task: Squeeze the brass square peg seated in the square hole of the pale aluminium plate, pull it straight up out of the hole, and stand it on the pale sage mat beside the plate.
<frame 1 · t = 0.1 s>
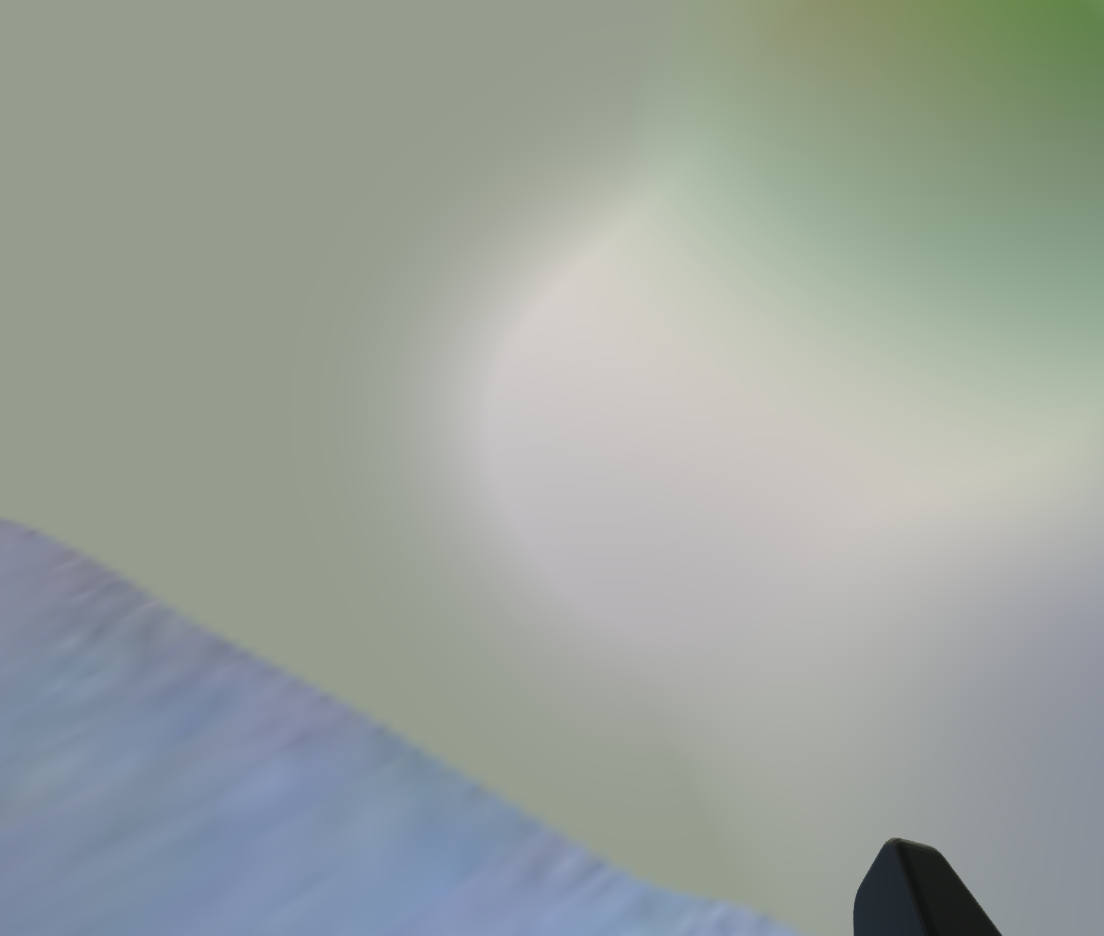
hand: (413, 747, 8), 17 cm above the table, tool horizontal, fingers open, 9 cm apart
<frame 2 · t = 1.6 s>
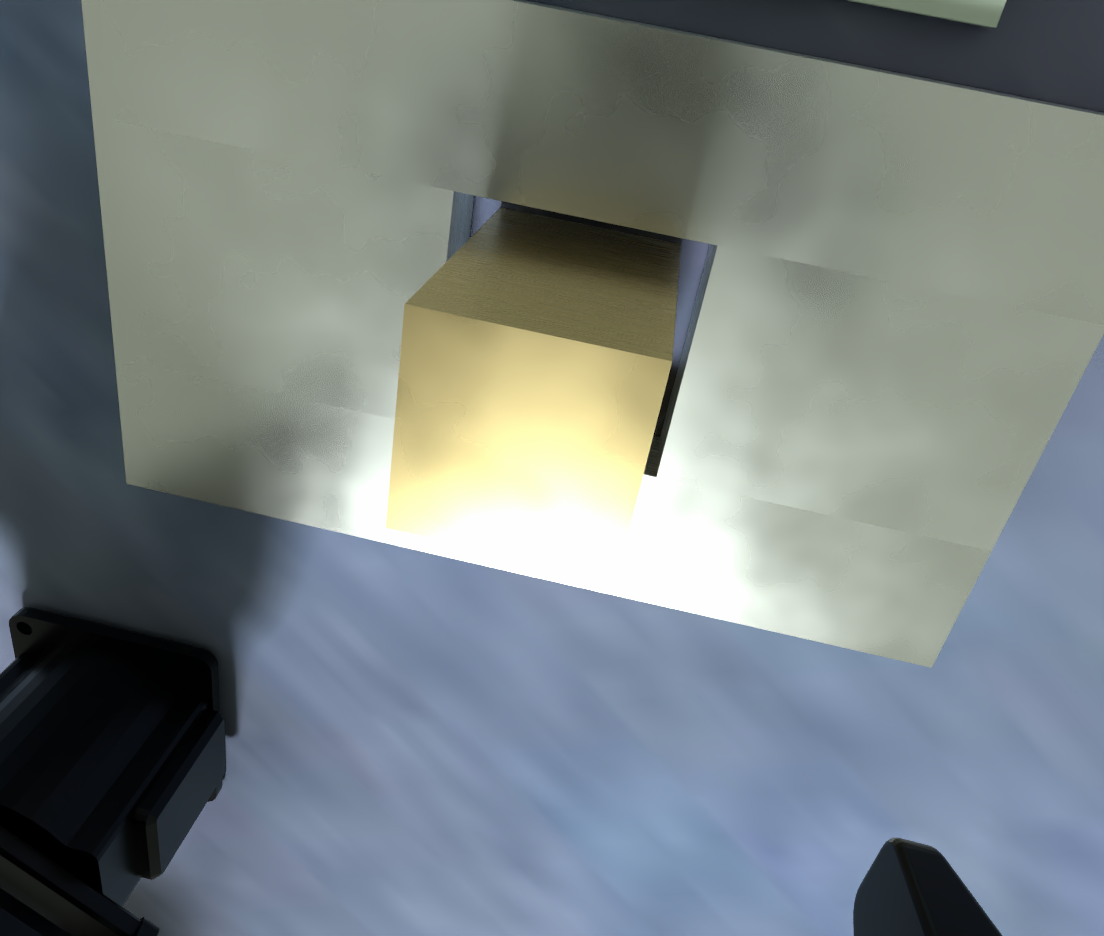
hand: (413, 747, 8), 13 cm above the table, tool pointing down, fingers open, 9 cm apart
brass peg: (550, 369, 16), in the aluminium plate
aluminium plate: (573, 313, 19), on the table
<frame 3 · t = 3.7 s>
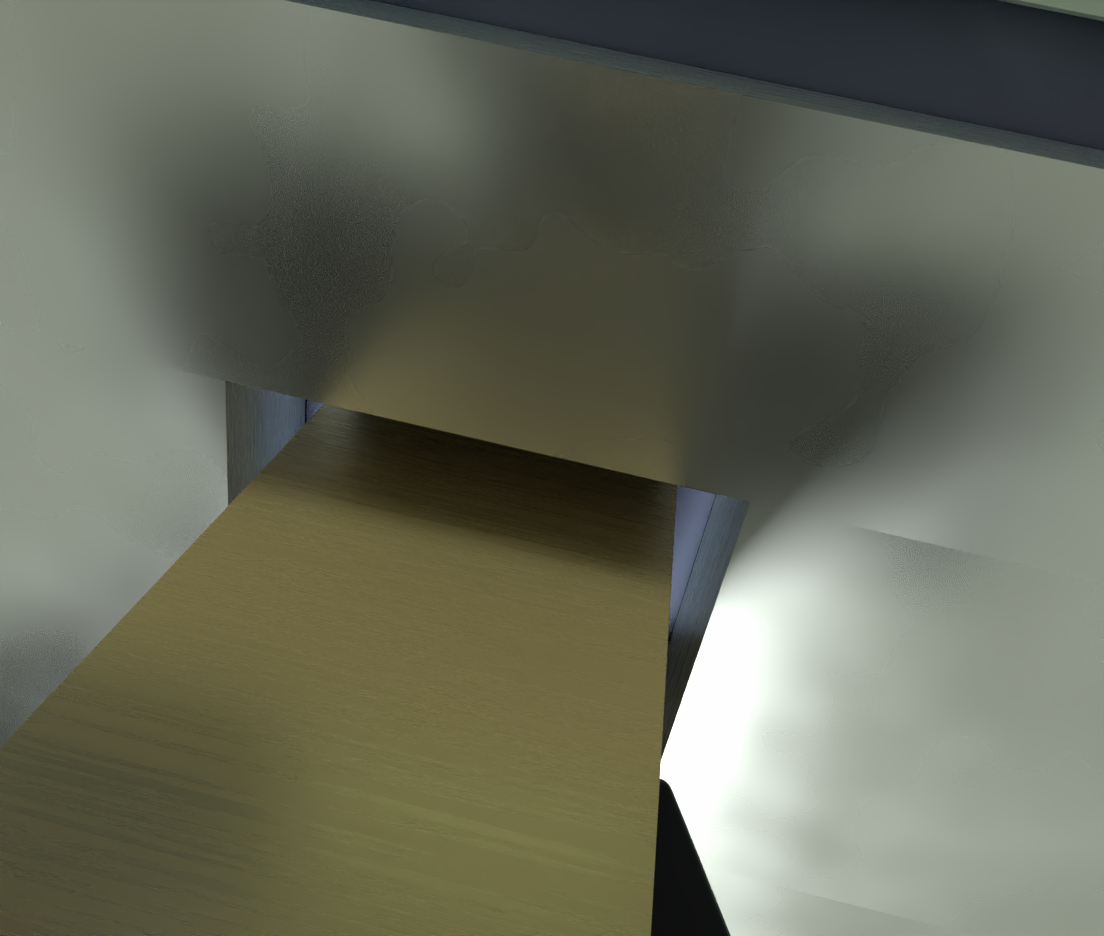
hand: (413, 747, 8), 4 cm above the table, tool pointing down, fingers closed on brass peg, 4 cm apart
brass peg: (414, 742, 8), in the aluminium plate, touching gripper
aluminium plate: (491, 543, 11), on the table
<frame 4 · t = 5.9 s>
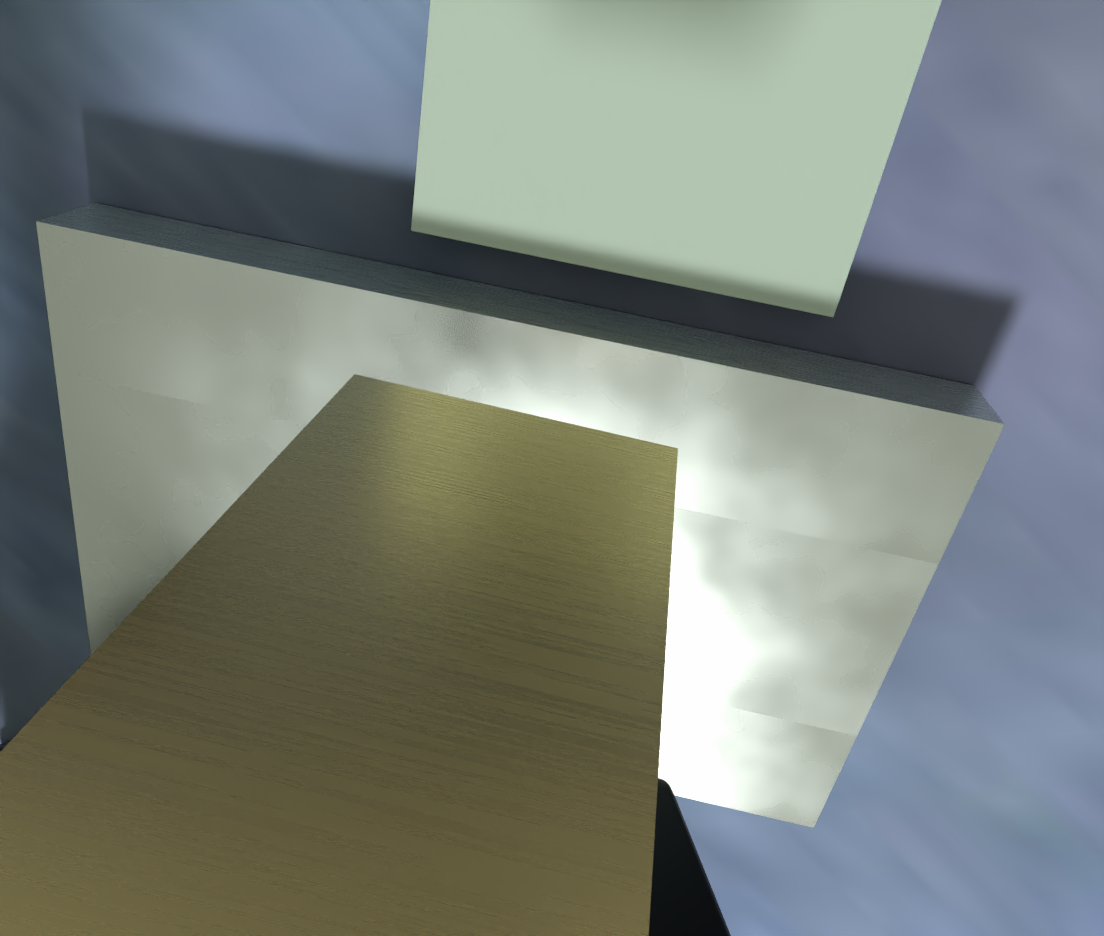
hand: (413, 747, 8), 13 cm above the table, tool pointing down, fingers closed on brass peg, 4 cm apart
brass peg: (413, 746, 8), point 12 cm above the table, touching gripper
aluminium plate: (489, 517, 22), on the table
sage mat: (670, 34, 16), on the table
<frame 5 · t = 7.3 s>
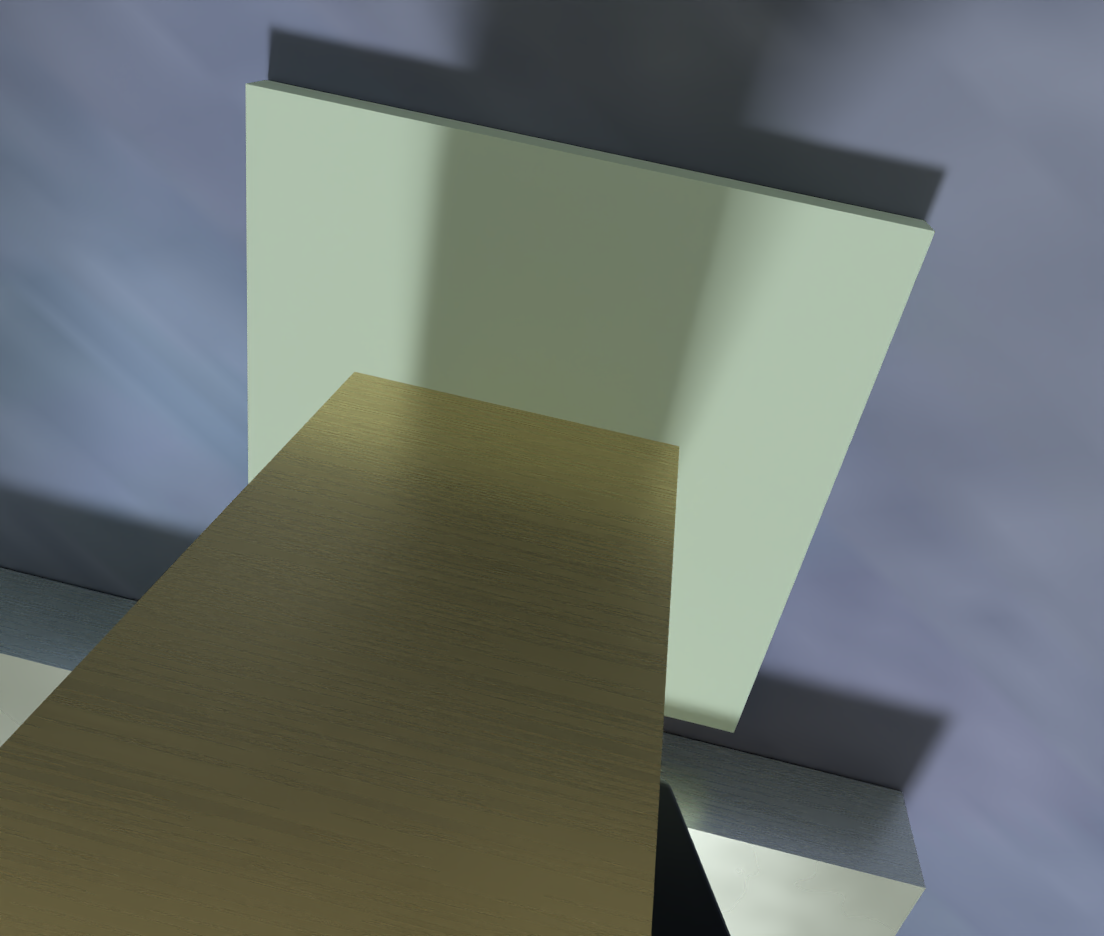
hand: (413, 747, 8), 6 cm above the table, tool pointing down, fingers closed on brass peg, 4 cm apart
brass peg: (413, 745, 8), point 6 cm above the table, touching gripper
aluminium plate: (367, 856, 19), on the table
sage mat: (534, 440, 14), on the table
when the fingers open (5 cm above the table, at t = 8.3 s): brass peg drops 1 cm, resting on sage mat.
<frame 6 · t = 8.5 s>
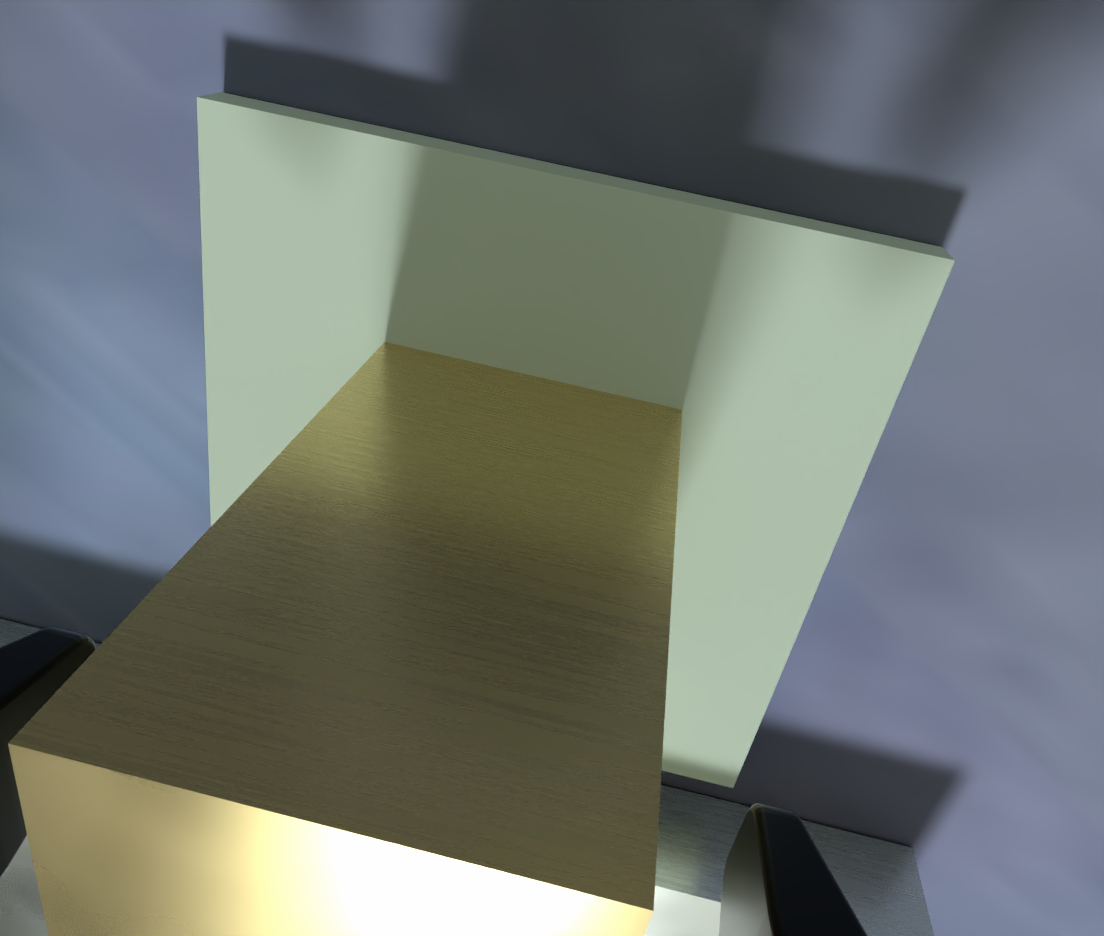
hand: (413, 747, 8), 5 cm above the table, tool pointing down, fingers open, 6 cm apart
brass peg: (443, 670, 9), on the sage mat, point 4 cm above the table
aluminium plate: (346, 906, 18), on the table
sage mat: (517, 479, 13), on the table
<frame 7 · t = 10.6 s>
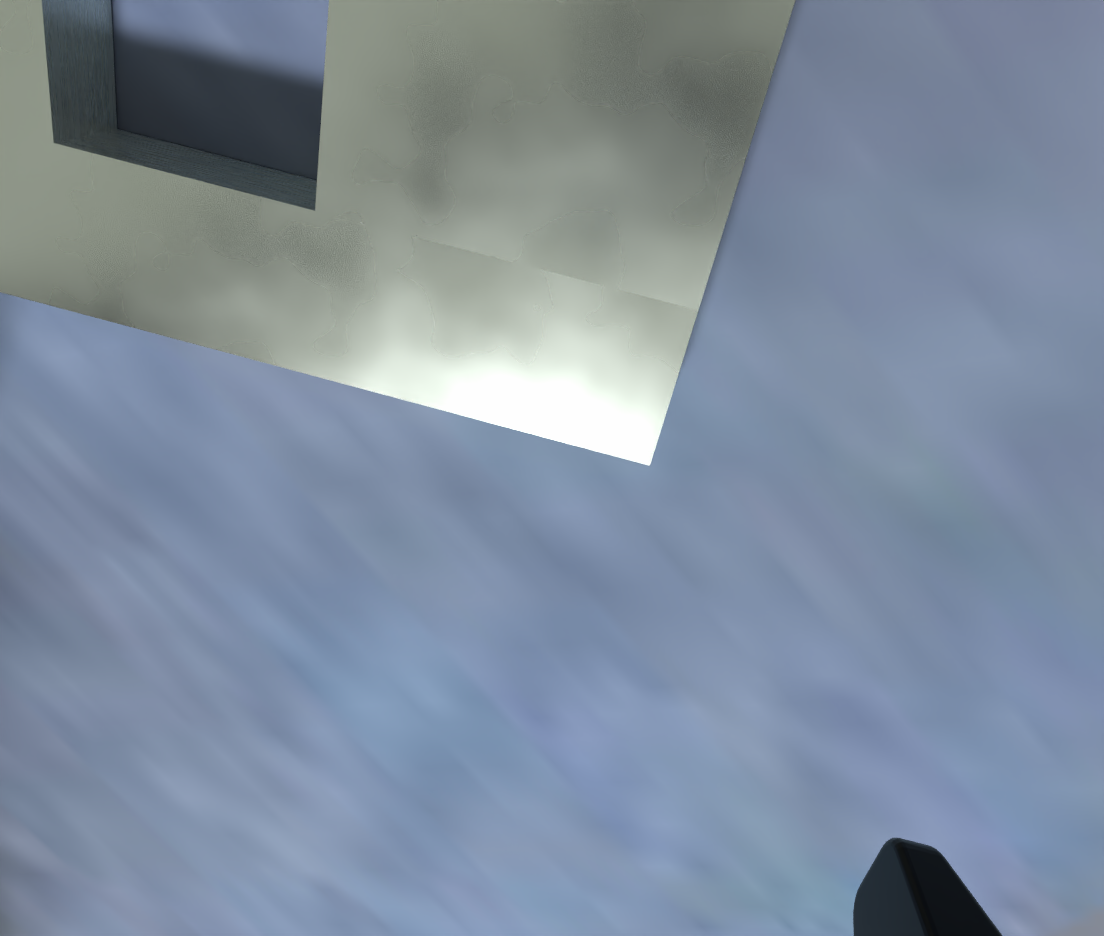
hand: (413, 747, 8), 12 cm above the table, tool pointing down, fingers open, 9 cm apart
aluminium plate: (237, 22, 17), on the table
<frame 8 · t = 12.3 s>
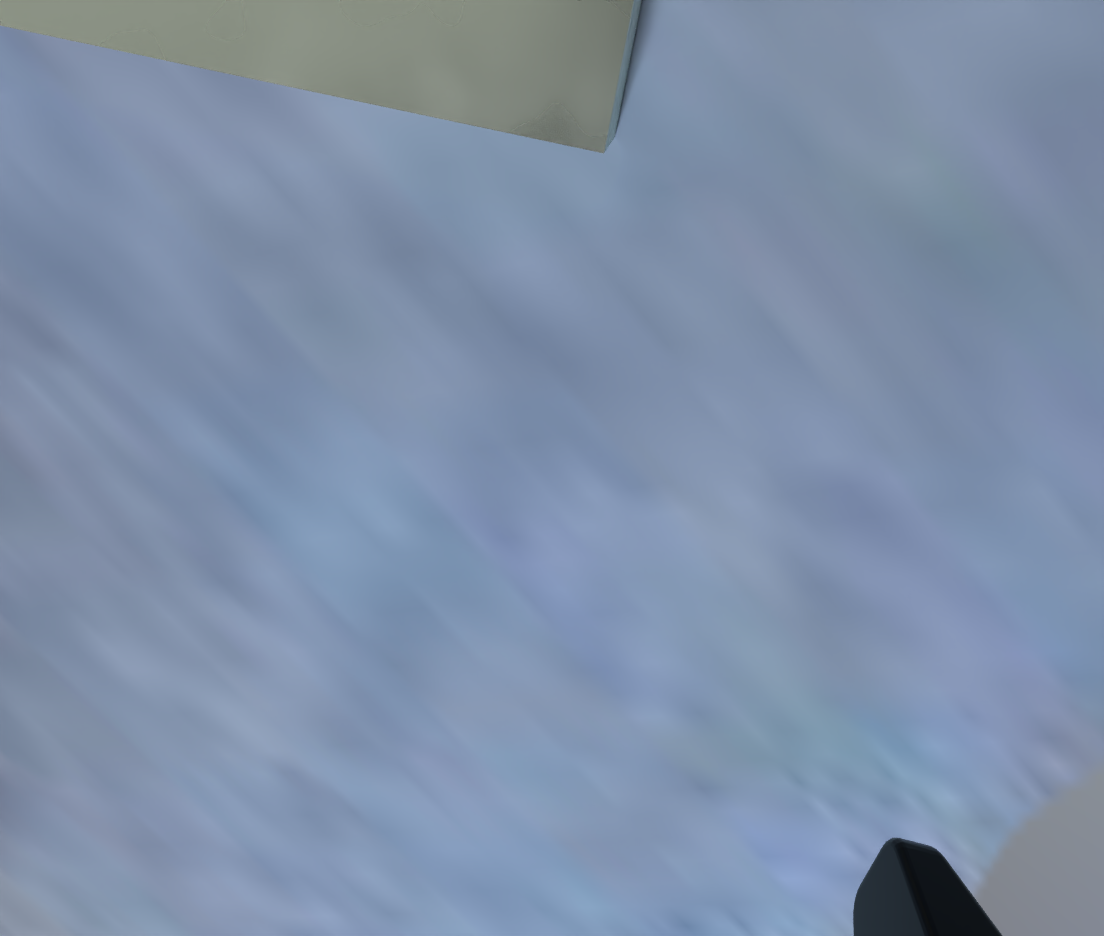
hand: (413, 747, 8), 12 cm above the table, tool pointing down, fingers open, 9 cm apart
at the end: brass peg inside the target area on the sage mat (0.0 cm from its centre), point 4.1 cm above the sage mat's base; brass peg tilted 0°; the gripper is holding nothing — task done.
